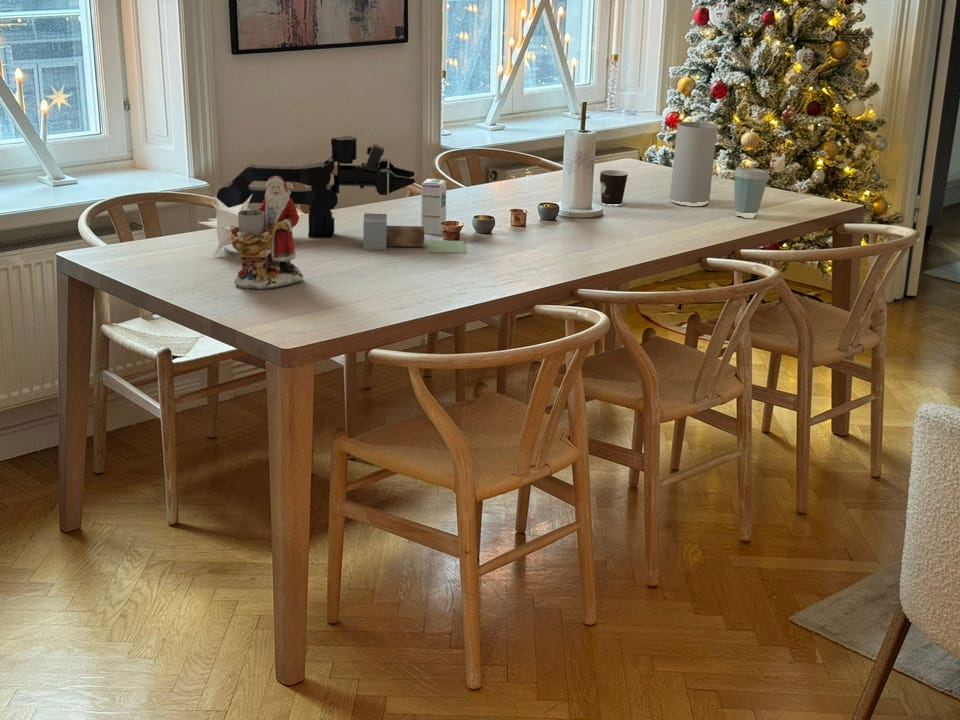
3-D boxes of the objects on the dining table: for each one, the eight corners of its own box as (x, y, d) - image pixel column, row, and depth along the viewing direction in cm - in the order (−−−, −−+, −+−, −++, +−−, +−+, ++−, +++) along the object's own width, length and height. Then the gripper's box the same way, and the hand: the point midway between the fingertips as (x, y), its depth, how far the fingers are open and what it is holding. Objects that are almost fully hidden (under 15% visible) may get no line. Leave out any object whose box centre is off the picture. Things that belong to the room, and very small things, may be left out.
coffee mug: (626, 207, 369) (629, 176, 366) (599, 206, 369) (601, 175, 366) (622, 199, 380) (625, 168, 376) (596, 198, 380) (598, 167, 376)
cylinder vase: (665, 198, 384) (672, 121, 376) (702, 198, 386) (710, 122, 377) (675, 207, 373) (683, 127, 364) (713, 207, 374) (722, 128, 366)
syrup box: (440, 235, 328) (442, 183, 322) (420, 233, 329) (421, 182, 324) (445, 230, 333) (447, 179, 328) (425, 228, 334) (426, 178, 329)
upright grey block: (363, 249, 310) (363, 221, 307) (364, 240, 318) (364, 213, 316) (386, 250, 311) (386, 222, 308) (386, 241, 319) (386, 213, 316)
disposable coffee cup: (732, 210, 371) (737, 163, 366) (766, 215, 368) (772, 167, 362) (726, 217, 362) (731, 169, 356) (761, 222, 358) (767, 173, 353)
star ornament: (186, 250, 304) (184, 194, 299) (230, 242, 314) (228, 188, 310) (238, 263, 292) (236, 206, 287) (281, 254, 303) (280, 198, 298)
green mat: (428, 252, 310) (428, 251, 310) (426, 240, 321) (426, 240, 321) (466, 253, 311) (466, 252, 311) (463, 241, 322) (463, 240, 322)
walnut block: (363, 245, 312) (363, 228, 311) (363, 241, 316) (364, 225, 314) (423, 246, 313) (424, 230, 312) (423, 242, 317) (424, 226, 316)
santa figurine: (238, 293, 271) (235, 186, 262) (226, 276, 283) (222, 174, 274) (309, 287, 277) (308, 183, 268) (294, 271, 289) (292, 171, 280)
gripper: (355, 152, 306) (415, 154, 307) (357, 139, 324) (414, 141, 325) (355, 194, 310) (414, 196, 311) (357, 179, 327) (413, 181, 329)
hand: (414, 177), depth 319 cm, fingers open, 9 cm apart
